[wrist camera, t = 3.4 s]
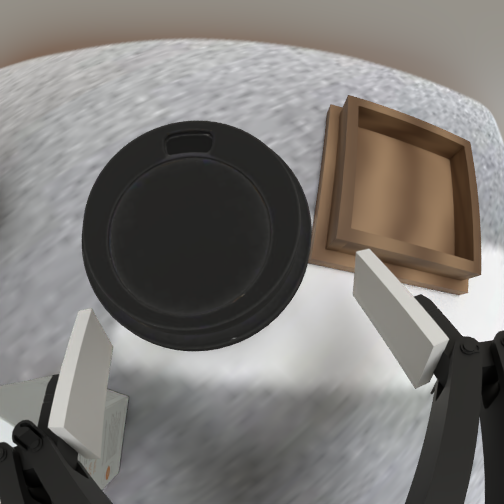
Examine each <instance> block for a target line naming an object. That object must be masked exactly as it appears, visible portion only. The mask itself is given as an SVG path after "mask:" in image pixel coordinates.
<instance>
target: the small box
mask: <svg viewBox="0 0 504 504" xmlns="http://www.w3.org/2000/svg"><path fill="white" fill-rule="evenodd" d="M51 378H52V376H49V377H44V378H38V379H33V380H29V381H24V382H18V383H12V384H7V385H1V386H0V442H6V443H8V444H9V445H10V446H12V447H15V446H17V445H16V444H15V443H13V441H12V431H13V429H14V427H15V426H16V425H17V424H18V423H19V422H20V421H22V420H29V421H32V422H33V423H34V424H35V425H36V426H38V421H39V417H40V412H41V408H42V404H43V403H44V402H43V400H44V396H45V392H46V388H47V384H48V382H49V381H50V379H51ZM128 399H129V398H128V396H126V395H123V394H120V393H117V392H114V391H112V390H109V389H107V394H106V402H105V411H104V421H103V432H102V445H101V459H85V458H84V457H83V456H81V455H80V454H79V453H78V461H80V462H81V463H82V465H83V466H84V468H85V469H86V470H87V472H88V473H89V474H90V476H91V477H92V478H93V480H94V481H95V482H96V484H97V485H98V486H99V487H100V489H101V490H103V489H104V488H105V487H106V486H107V484H108V483H109V482H110V481H111V480H112V479H113V478H114V477H115V476H116V475H117V474H118V473H119V466H120V458H121V450H122V442H123V434H124V427H125V420H126V413H127V405H128ZM0 504H1V502H0Z"/></svg>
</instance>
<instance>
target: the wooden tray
mask: <svg viewBox="0 0 504 504" xmlns="http://www.w3.org/2000/svg"><path fill="white" fill-rule="evenodd" d="M365 249H370V250H371V251H372V252H373V253H374V254H375V255H376V256H377V257H378V258H379V259H380V261H381V262H382V263H383V264H384V265H385V266H386V267H387V268H388V269H389V270H390V271H391V272H392V273H393V274H394V276H395V277H396V278H397V279H398V280H399V281H400V282H401V283H404V284H409V285H414V286H419V287H423V288H428V289H433V290H437V291H442V292H447V293H451V294H456V295H461V294H465V293H468V279H469V278H473V277H476V276H479V275H481V231H480V214H479V202H478V192H477V183H476V176H475V168H474V162H473V156H472V150H471V144H470V142H469V141H467V140H465V139H463V138H461V137H459V136H457V135H454V134H452V133H450V132H448V131H446V130H443V129H441V128H439V127H436V126H434V125H432V124H429V123H427V122H425V121H422V120H420V119H417V118H415V117H412V116H409V115H407V114H404V113H401V112H399V111H396V110H393V109H390V108H388V107H385V106H382V105H379V104H376V103H373V102H370V101H367V100H363V99H360V98H357V97H354V96H350V95H348V97H347V99H346V101H345V104H344V106H343V108H342V107H338V106H335V105H330V107H329V110H328V112H327V119H326V129H325V138H324V147H323V155H322V163H321V171H320V179H319V187H318V194H317V201H316V208H315V215H314V222H313V228H312V238H311V248H310V255H309V260H308V263H311V264H315V265H320V266H325V267H329V268H334V269H339V270H343V271H348V272H353V273H355V257H356V252H357V251H361V250H365Z"/></svg>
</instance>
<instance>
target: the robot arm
mask: <svg viewBox="0 0 504 504" xmlns="http://www.w3.org/2000/svg"><path fill="white" fill-rule="evenodd" d="M353 296H354V297H355V299H356V300H357V302H358V303H359V305H360V306H361V307H362V309H363V310H364V312H365V313H366V315H367V316H368V318H369V319H370V321H371V322H372V323H373V325H374V326H375V328H376V329H377V331H378V332H379V334H380V335H381V337H382V338H383V340H384V341H385V343H386V344H387V346H388V347H389V349H390V350H391V352H392V353H393V355H394V356H395V358H396V359H397V361H398V363H399V364H400V366H401V367H402V369H403V370H404V372H405V373H406V375H407V377H408V378H409V380H410V381H411V383H412V384H413V386H414V388H415V389H416V388H418V387H420V386H422V385H424V384H427V383H429V382H430V380H431V378H432V376H433V374H434V375H435V376H436V378H437V381H436V383H435V385H434V387H433V389H432V391H431V393H430V394H433V393H434V397H433V402H432V407H431V412H430V417H429V422H428V426H427V431H426V435H425V439H424V443H423V447H422V451H421V455H420V458H419V462H418V465H417V469H416V472H415V475H414V478H413V481H412V485H411V488H410V491H409V493H408V496H407V499H406V502H405V504H464V501H465V497H466V493H467V489H468V485H469V480H470V475H471V471H472V465H473V460H474V454H475V448H476V441H477V434H478V426H479V416H480V423H481V432H482V442H483V454H484V471H485V504H504V331H500V332H498V333H497V334H496V336H495V338H494V340H492V341H485V342H478V341H477V340H475V339H474V338H471V337H463V336H462V335H461V334H460V333H459V332H458V330H457V329H456V328H455V327H454V326H453V325H452V324H451V322H450V321H449V320H448V319H447V318H446V317H445V315H443V314H442V312H441V311H440V310H439V309H437V306H436V305H435V304H434V303H433V302H432V301H431V300H430V299H428V298H427V297H425V296H423V295H421V294H420V295H417V296H415V297H413V296H412V294H411V293H410V292H409V291H408V290H407V289H406V288H405V287H404V285H403V284H402V283H401V282H400V281H399V280H398V279H397V278H396V277H395V276H394V274H393V273H392V272H391V271H390V270H389V269H388V268H387V267H386V266H385V265H384V264H383V263H382V262H381V261H380V259H379V258H378V257H377V256H376V255H375V254H374V253H373V252H372V251H371V250H370V249H365V250H361V251H357V252H356V257H355V273H354V286H353ZM112 352H113V345H112V344H111V342H110V340H109V338H108V337H107V335H106V333H105V331H104V330H103V328H102V326H101V324H100V322H99V321H98V319H97V317H96V315H95V313H94V311H93V309H92V308H91V309H85V310H80V311H79V312H78V315H77V318H76V321H75V324H74V327H73V330H72V333H71V337H70V340H69V343H68V346H67V350H66V353H65V357H64V360H63V364H62V367H61V371H60V374H58V375H53V376H52V378H51V379H50V381H49V382H48V384H47V388H46V392H45V396H44V400H43V402H44V403H43V404H42V408H41V412H40V417H39V421H38V426H36V425H35V424H34V423H33V422H32V421H29V420H22V421H20V422H19V423H18V424H17V425H16V426H15V427H14V429H13V431H12V441H13V443H15V444H16V445H17V446H15V447H12V446H10V445H9V444H8V443H6V442H0V502H1V504H113V503H112V502H111V501H110V500H109V499H108V497H107V496H106V495H105V494H104V492H103V491H102V490H101V489H100V487H99V486H98V485H97V484H96V482H95V481H94V480H93V478H92V477H91V476H90V474H89V473H88V472H87V470H86V469H85V468H84V466H83V465H82V463H81V462H80V461H78V453H79V454H80V455H81V456H83V457H84V458H85V459H101V445H102V432H103V421H104V411H105V402H106V394H107V386H108V378H109V371H110V365H111V358H112Z"/></svg>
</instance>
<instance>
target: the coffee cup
mask: <svg viewBox="0 0 504 504" xmlns="http://www.w3.org/2000/svg"><path fill="white" fill-rule="evenodd" d="M311 238H312V227H311V217H310V211H309V207H308V203H307V200H306V197H305V194H304V192H303V189H302V187H301V185H300V183H299V181H298V179H297V178H296V176H295V175H294V173H293V172H292V170H291V169H290V168H289V166H288V165H287V164H286V163H285V162H284V161H283V160H282V159H281V158H280V156H278V155H277V154H276V153H275V152H274V151H273V150H272V149H270V148H269V147H268V146H266V145H265V144H264V143H263V142H261V141H260V140H259V139H257V138H256V137H254V136H252V135H251V134H249V133H247V132H245V131H243V130H241V129H238V128H236V127H233V126H230V125H226V124H222V123H217V122H211V121H184V122H177V123H172V124H168V125H165V126H161V127H159V128H156V129H153V130H151V131H149V132H147V133H145V134H143V135H141V136H139V137H137V138H136V139H134V140H133V141H131V142H130V143H128V144H127V145H126V146H124V147H123V148H122V149H121V150H120V151H119V152H118V153H117V154H116V155H115V156H114V157H113V158H112V159H111V160H110V161H109V162H108V163H107V165H106V166H105V167H104V169H103V170H102V171H101V173H100V174H99V176H98V178H97V180H96V181H95V183H94V185H93V187H92V190H91V192H90V195H89V197H88V201H87V204H86V208H85V213H84V220H83V229H82V255H83V261H84V266H85V270H86V273H87V276H88V279H89V282H90V284H91V286H92V288H93V290H94V293H95V294H96V296H97V298H98V299H99V301H100V302H101V304H102V305H103V306H104V308H105V309H106V310H107V311H108V312H109V313H110V315H111V316H112V317H113V318H114V319H115V320H117V321H118V322H119V323H120V324H121V325H122V326H124V327H125V328H127V329H128V330H129V331H131V332H132V333H134V334H135V335H137V336H139V337H140V338H142V339H144V340H146V341H148V342H151V343H153V344H156V345H159V346H162V347H165V348H169V349H174V350H181V351H208V350H214V349H220V348H223V347H227V346H230V345H233V344H236V343H239V342H241V341H243V340H245V339H247V338H249V337H251V336H253V335H254V334H256V333H258V332H259V331H261V330H262V329H264V328H265V327H266V326H268V325H269V324H270V323H271V322H272V321H273V320H274V319H276V318H277V317H278V316H279V315H280V313H281V312H282V311H283V310H284V309H285V308H286V306H287V305H288V304H289V303H290V301H291V300H292V298H293V297H294V295H295V293H296V292H297V290H298V288H299V286H300V284H301V282H302V279H303V277H304V274H305V272H306V268H307V264H308V260H309V255H310V248H311Z"/></svg>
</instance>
